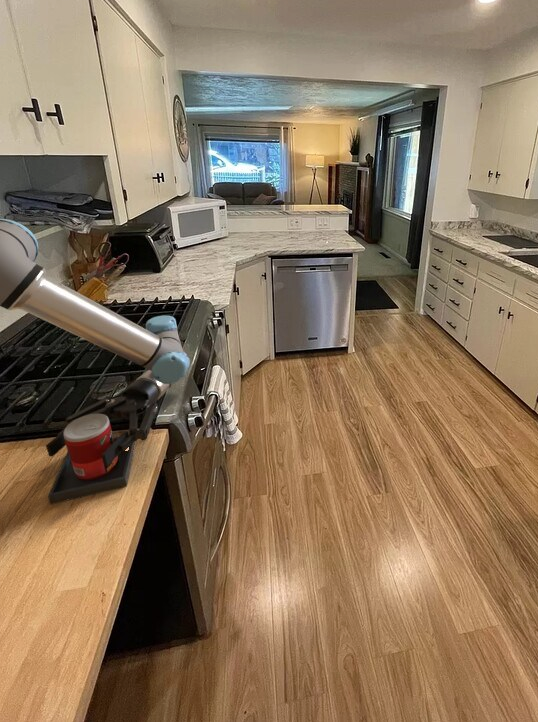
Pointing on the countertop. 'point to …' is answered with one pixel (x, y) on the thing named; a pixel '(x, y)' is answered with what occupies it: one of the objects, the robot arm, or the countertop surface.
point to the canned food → (89, 445)
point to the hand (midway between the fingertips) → (76, 455)
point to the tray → (74, 487)
